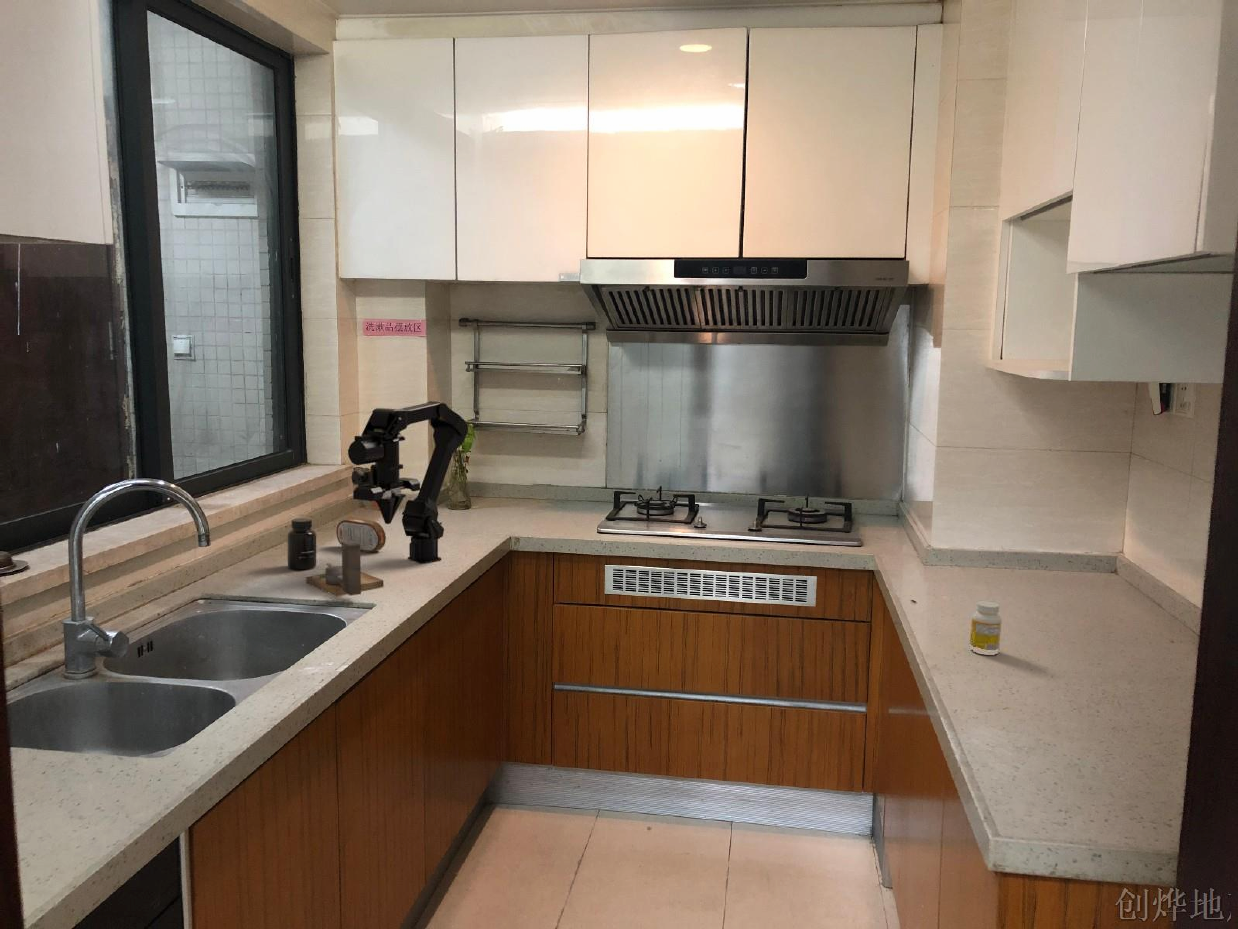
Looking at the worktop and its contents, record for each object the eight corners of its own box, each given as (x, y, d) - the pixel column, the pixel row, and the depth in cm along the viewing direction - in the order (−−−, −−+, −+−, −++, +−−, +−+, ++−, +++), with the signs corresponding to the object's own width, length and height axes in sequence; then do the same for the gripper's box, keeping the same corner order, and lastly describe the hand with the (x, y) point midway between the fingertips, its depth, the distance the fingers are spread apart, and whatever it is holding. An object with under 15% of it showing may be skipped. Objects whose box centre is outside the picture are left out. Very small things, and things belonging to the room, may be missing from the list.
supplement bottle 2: (993, 658, 178) (997, 610, 177) (965, 651, 181) (969, 604, 180) (1002, 651, 182) (1006, 604, 181) (975, 645, 186) (978, 598, 184)
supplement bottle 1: (307, 571, 228) (306, 523, 226) (282, 569, 229) (280, 521, 227) (322, 565, 234) (321, 518, 233) (297, 563, 236) (296, 516, 234)
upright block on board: (316, 575, 218) (315, 529, 216) (337, 573, 220) (337, 527, 219) (344, 596, 202) (343, 546, 200) (366, 593, 205) (366, 544, 203)
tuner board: (352, 574, 226) (352, 566, 226) (383, 586, 216) (383, 577, 216) (306, 583, 218) (306, 574, 217) (335, 596, 208) (335, 587, 208)
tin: (386, 552, 249) (386, 521, 248) (379, 555, 246) (378, 523, 245) (342, 545, 255) (342, 515, 254) (334, 548, 252) (334, 517, 251)
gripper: (385, 453, 237) (386, 513, 240) (334, 462, 221) (335, 526, 223) (421, 457, 233) (421, 518, 235) (371, 466, 216) (372, 532, 218)
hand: (387, 523), depth 228 cm, fingers closed
